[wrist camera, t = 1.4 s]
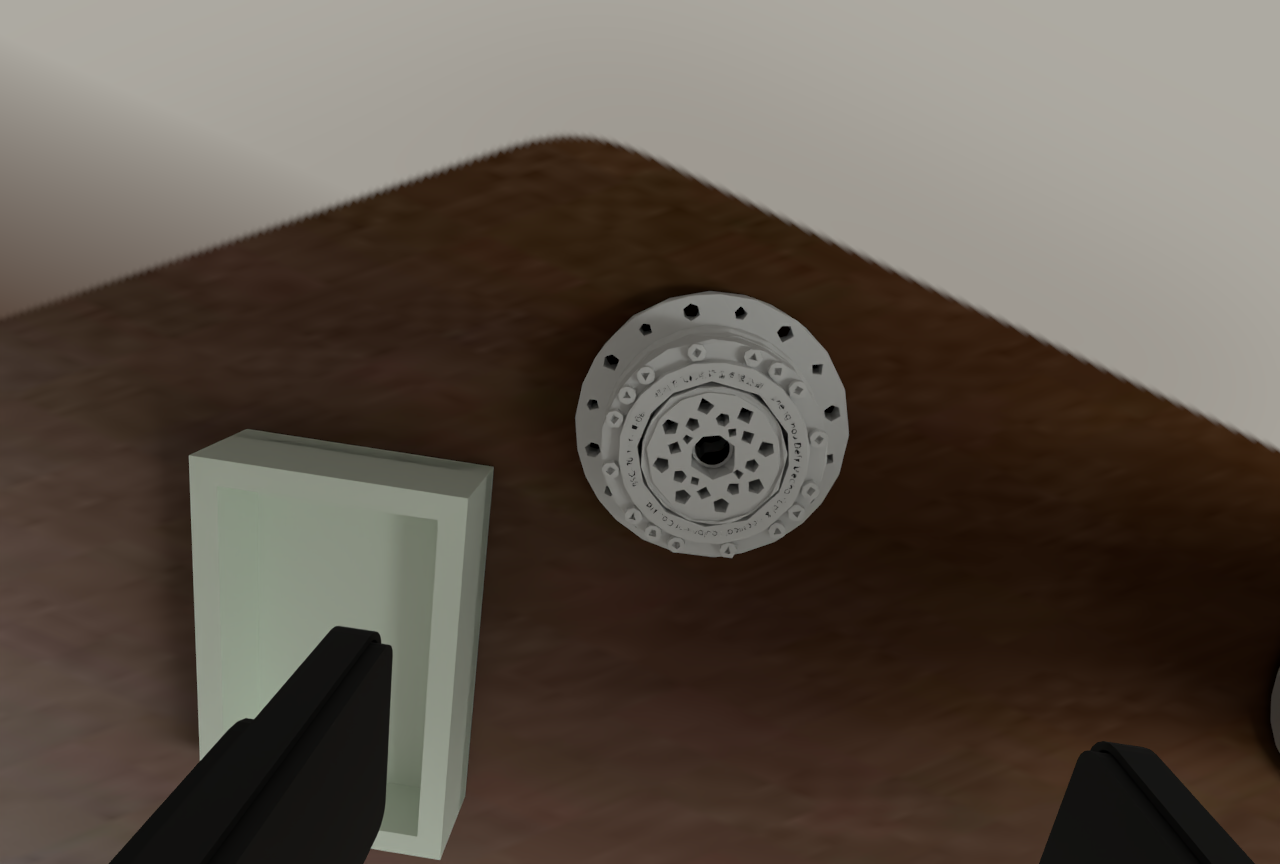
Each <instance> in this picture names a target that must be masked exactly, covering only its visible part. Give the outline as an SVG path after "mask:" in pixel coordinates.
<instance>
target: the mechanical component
mask: <svg viewBox="0 0 1280 864" xmlns="http://www.w3.org/2000/svg"><path fill="white" fill-rule="evenodd" d="M690 303H691V304H693V305H696V306H698V309H699V311H698V313H697V315H696V316H687V315H686V313H685V312H684V310H683V309H684V308H685V307H687V306H688V305H689V304H690ZM740 307H742V308H743V309H744V314H742V315H740V316H737V317H736V314H735V311H736V310H737V309H739V308H740ZM643 324H650V327H651V331H644V330H643V328H642V325H643ZM782 326H789V328H790V331H789V333H788V334H787V336H785V337H781V338H780V337H779V336H778V334H777V331H778V330H779V329H780V328H781V327H782ZM609 355H614V356H615V357H616V358H618V359H619V362H618V364H613V365H610V364H609V362H608V360H607V358H606V356H609ZM812 365H818V367H817V368H814V369H812ZM702 398H704V399H705V400H707V401H708V402H710V403H700V402H701V400H702ZM592 400H597V403H593V402H592ZM831 405H833V406H835V407H834V409H833V411H832V412H831V413H824V410H826V409H827V408H828V407H830V406H831ZM742 407H743V408H745V409H748V410H749V411H748V412H740V411H741V409H742ZM651 413H652V415H651ZM721 413H722V414H723V415H724V416H722V415H720V414H721ZM650 415H651V416H650ZM774 415H775V416H774ZM689 418H690V419H689ZM667 419H669V420H671V421H674V422H676V423H673V424H670V425H668V423H667V422H666V420H667ZM575 421H576V436H577V449H578V454H579V457H580V460H581V463H582V467H583V470H584V473H585V476H586V478H587V480H588V482H589V483H590V485H591V487H592V489H593V491H594V493H595V494H596V496H597V498H598V500H599V501H600V502H601V503H602V504H603V505H604V507H605V508H606V509H607V510H608V511H609V512H610V513H611V515H612V516H613V517H614V518H615V519H616V520H617V521H618V522H620V523H621V524H622V525H624V526H625V527H627V528H628V529H629V530H631V531H632V532H633V533H635V534H636V535H637V536H639V537H640V538H641V539H643V540H645V541H648V542H650V543H653V544H656V545H658V546H661V547H663V548H666V549H668V550H671V551H672V552H673V553H684V554H692V555H700V556H708V557H720V556H722V557H727V558H733V556H734V554H739V553H744V552H747V551H750V550H753V549H756V548H759V547H761V546H764V545H767V544H770V543H773V542H775V541H777V540H778V539H780V538H782V537H784V536H785V535H786V534H787V533H789V532H790V531H792V530H793V529H795V528H796V527H798V526H799V525H801V524H802V523H803V522H804V521H805V520H806V519H807V518H808V517H809V516H810V515H811V514H812V513H813V512H814V511H815V510H816V509H817V508H818V507H819V506H820V505H821V504H822V502H823V500H824V499H825V497H826V495H827V494H828V492H829V490H830V489H831V487H832V485H833V484H834V482H835V480H836V479H837V477H838V475H839V473H840V469H841V465H842V461H843V457H844V453H845V449H846V445H847V441H848V437H849V429H848V418H847V406H846V395H845V389H844V387H843V384H842V382H841V380H840V378H839V376H838V374H837V372H836V369H835V367H834V365H833V363H832V361H831V359H830V357H829V354H828V352H827V351H826V350H825V349H824V348H823V347H822V346H821V344H820V343H819V342H818V341H817V340H816V339H815V338H814V336H813V335H812V334H811V333H810V332H809V331H808V330H807V328H805V327H804V326H803V325H802V324H800V323H799V322H798V321H797V320H795V319H793V318H792V317H790V316H789V315H787V314H785V313H784V312H782V311H781V310H779V309H777V308H776V307H774V306H772V305H771V304H768V303H766V302H763V301H760V300H758V299H755V298H752V297H749V296H747V295H740V294H732V293H724V292H715V291H706V292H701V293H695V294H689V295H684V296H678V297H673V298H669V299H667V300H665V301H662V302H660V303H658V304H656V305H654V306H652V307H650V308H648V309H646V310H643V311H641V312H639V313H637V314H635V315H633V316H632V317H631V318H630V319H629V320H628V321H627V322H626V323H625V324H624V325H623V326H622V327H621V328H620V329H619V330H618V331H617V332H616V333H615V334H614V335H613V336H612V337H611V338H610V339H609V340H608V341H607V342H606V343H605V344H604V346H603V347H602V349H601V350H600V351H599V353H598V354H597V356H596V357H595V359H594V361H593V363H592V365H591V368H590V370H589V372H588V374H587V376H586V378H585V380H584V382H583V384H582V389H581V393H580V398H579V402H578V407H577V411H576V416H575ZM778 421H779V423H778ZM744 431H747V432H745V433H744V434H743V432H744ZM642 434H643V438H642ZM718 435H720V436H721V437H722V438H721V439H720V440H718V441H715V442H712V443H708V442H704V443H703V444H702V445H701V447H700V448H699V447H698V446H696V445H695V444H696V443H697V442H698V441H699V440H700V439H701V438H702V437H705V436H718ZM726 441H728V442H729V445H730V452H729V454H728V457H727V458H726V459H725V460H724V461H723V462H721V463H719V464H716V465H708V464H705V463H703V462H702V461H700V460H699V458H701V457H702V456H703V454H704V453H707V452H715V451H720V450H722V449H723V448H724V447H725V446H724V444H725V443H726ZM591 442H593V443H595V444H598V445H599V449H596V448H593V447H590V443H591ZM675 442H677V443H675ZM674 443H675V444H674ZM727 445H728V444H727ZM732 452H733V453H732ZM692 454H693V456H692ZM698 457H699V458H698Z"/></svg>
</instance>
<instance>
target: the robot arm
mask: <svg viewBox="0 0 1280 864" xmlns="http://www.w3.org/2000/svg"><path fill="white" fill-rule="evenodd" d="M392 661H393V650H392V646H391V645H388V644H381V637H380V634H379V633H378V632H376V631H370V630H363V629H356V628H350V627H343V626H335V627H334V628H332V629H331V630H330V631H329V632H328V634H327V635H326V636H325V637H324V638H323V639H322V641H321V642H320V643H319V644H318V645H317V646H316V648H315V649H314V650H313V651H312V652H311V653H310V655H309V656H308V657H307V658H306V659H305V660H304V662H303V663H302V664H301V665H300V666H299V667H298V669H297V670H296V671H295V672H294V673H293V674H292V676H291V677H290V678H289V679H288V680H287V681H286V683H285V684H284V685H283V686H282V687H281V688H280V690H279V691H278V692H277V693H276V694H275V695H274V697H273V698H272V699H271V700H270V701H269V702H268V704H267V705H266V706H265V707H264V708H263V709H262V711H261V712H260V713H259V714H258V715H257V716H256V718H255V719H249V718H245V719H242V720H240V721H237V722H236V723H235V724H234V725H233V726H232V727H231V728H230V729H228V730H227V732H226V733H225V734H224V735H223V736H222V737H221V738H220V739H219V741H218V742H217V743H216V744H215V745H214V746H213V747H212V748H211V749H210V751H209V752H208V753H207V754H206V755H205V756H204V757H203V758H202V760H201V761H200V762H199V763H198V764H197V765H196V766H195V767H194V769H193V770H192V771H191V772H190V773H189V774H188V775H187V776H186V778H185V779H184V780H183V781H182V782H181V783H180V784H179V785H178V787H177V788H176V789H175V790H174V791H173V792H172V793H171V794H170V796H169V797H168V798H167V799H166V800H165V801H164V802H163V803H162V805H161V806H160V807H159V808H158V809H157V810H156V811H155V812H154V813H153V815H152V816H151V817H150V818H149V819H148V820H147V821H146V822H145V824H144V825H143V826H142V827H141V828H140V829H139V830H138V831H137V833H136V834H135V835H134V836H133V837H132V838H131V839H130V840H129V842H128V843H127V844H126V845H125V846H124V847H123V848H122V849H121V851H120V852H119V853H118V854H117V855H116V856H115V857H114V858H113V860H112V861H111V862H110V863H109V864H363V863H364V861H365V859H366V857H367V855H368V853H369V851H370V849H371V847H372V845H373V843H374V841H375V839H376V837H377V834H378V832H379V829H380V827H381V824H382V820H383V816H384V811H385V804H386V784H387V764H388V743H389V723H390V702H391V681H392ZM1270 722H1271V726H1272V731H1273V735H1274V740H1275V744H1276V747H1277V749H1278V751H1279V753H1280V667H1279V669H1278V673H1277V676H1276V680H1275V684H1274V688H1273V691H1272V695H1271V720H1270ZM1039 864H1255V863H1254V862H1253V861H1252V860H1251V859H1250V858H1249V857H1248V856H1247V855H1246V853H1245V852H1244V851H1243V850H1242V849H1241V848H1240V847H1239V846H1238V845H1237V843H1236V842H1235V841H1234V840H1233V839H1232V838H1231V837H1230V836H1229V835H1228V834H1227V832H1226V831H1225V830H1224V829H1223V828H1222V827H1221V826H1220V825H1219V824H1218V822H1217V821H1216V820H1215V819H1214V818H1213V817H1212V816H1211V815H1210V814H1209V812H1208V811H1207V810H1206V809H1205V808H1204V807H1203V806H1202V805H1201V804H1200V802H1199V801H1198V800H1197V799H1196V798H1195V797H1194V796H1193V795H1192V794H1191V792H1190V791H1189V790H1188V789H1187V788H1186V787H1185V786H1184V785H1183V784H1182V782H1181V781H1180V780H1179V779H1178V778H1177V777H1176V776H1175V775H1174V774H1173V773H1172V771H1171V770H1170V769H1169V768H1168V767H1167V766H1166V765H1165V764H1164V763H1163V761H1162V760H1161V759H1160V758H1159V757H1158V756H1157V755H1156V754H1155V753H1154V752H1152V751H1151V750H1150V749H1147V748H1144V747H1138V746H1131V745H1125V744H1118V743H1111V742H1105V741H1103V742H1097V743H1096V744H1095V745H1094V746H1092V748H1091V750H1090V751H1084V752H1083V753H1082V754H1081V755H1080V756H1079V758H1078V760H1077V763H1076V766H1075V768H1074V771H1073V774H1072V776H1071V779H1070V782H1069V784H1068V787H1067V790H1066V793H1065V795H1064V798H1063V801H1062V803H1061V806H1060V809H1059V811H1058V814H1057V817H1056V819H1055V822H1054V825H1053V828H1052V830H1051V833H1050V836H1049V838H1048V841H1047V844H1046V846H1045V849H1044V852H1043V854H1042V857H1041V860H1040V863H1039Z"/></svg>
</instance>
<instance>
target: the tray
mask: <svg viewBox="0 0 1280 864" xmlns="http://www.w3.org/2000/svg"><path fill="white" fill-rule="evenodd" d="M493 472H494V467H492V466H486V465H479V464H473V463H466V462H460V461H453V460H447V459H440V458H434V457H427V456H421V455H414V454H408V453H401V452H395V451H388V450H382V449H375V448H369V447H362V446H356V445H349V444H343V443H336V442H330V441H323V440H316V439H310V438H303V437H297V436H290V435H284V434H277V433H271V432H264V431H258V430H251V429H245V430H243V431H241V432H239V433H237V434H234V435H232V436H230V437H228V438H226V439H223V440H221V441H219V442H217V443H215V444H212V445H210V446H208V447H206V448H204V449H201V450H199V451H197V452H195V453H193V454H190V455H189V477H190V504H191V531H192V558H193V585H194V613H195V640H196V667H197V694H198V721H199V748H200V761H201V760H202V758H203V757H204V756H205V755H206V754H207V753H208V752H209V751H210V749H211V748H212V747H213V746H214V745H215V744H216V743H217V742H218V741H219V739H220V738H221V737H222V736H223V735H224V734H225V733H226V732H227V730H228V729H230V728H231V727H232V726H233V725H234V724H235V723H236V722H237V721H240V720H242V719H245V718H249V719H255V718H256V716H257V715H258V714H259V713H260V712H261V711H262V709H263V708H264V707H265V706H266V705H267V704H268V702H269V701H270V700H271V699H272V698H273V697H274V695H275V694H276V693H277V692H278V691H279V690H280V688H281V687H282V686H283V685H284V684H285V683H286V681H287V680H288V679H289V678H290V677H291V676H292V674H293V673H294V672H295V671H296V670H297V669H298V667H299V666H300V665H301V664H302V663H303V662H304V660H305V659H306V658H307V657H308V656H309V655H310V653H311V652H312V651H313V650H314V649H315V648H316V646H317V645H318V644H319V643H320V642H321V641H322V639H323V638H324V637H325V636H326V635H327V634H328V632H329V631H330V630H331V629H332V628H334V627H335V626H343V627H350V628H356V629H363V630H370V631H376V632H378V633H379V634H380V637H381V644H388V645H391V646H392V650H393V661H392V681H391V702H390V723H389V743H388V764H387V784H386V804H385V811H384V816H383V820H382V824H381V827H380V829H379V832H378V834H377V837H376V839H375V841H374V843H373V845H372V847H371V849H376V850H382V851H388V852H394V853H400V854H406V855H412V856H418V857H424V858H430V859H436V860H440V859H441V856H442V854H443V851H444V849H445V846H446V844H447V841H448V839H449V836H450V833H451V831H452V828H453V826H454V823H455V821H456V818H457V816H458V813H459V811H460V808H461V805H462V803H463V800H464V798H465V793H466V782H467V770H468V759H469V747H470V736H471V724H472V713H473V701H474V690H475V679H476V667H477V656H478V644H479V633H480V621H481V610H482V598H483V587H484V575H485V564H486V552H487V541H488V530H489V518H490V507H491V495H492V484H493Z"/></svg>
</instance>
